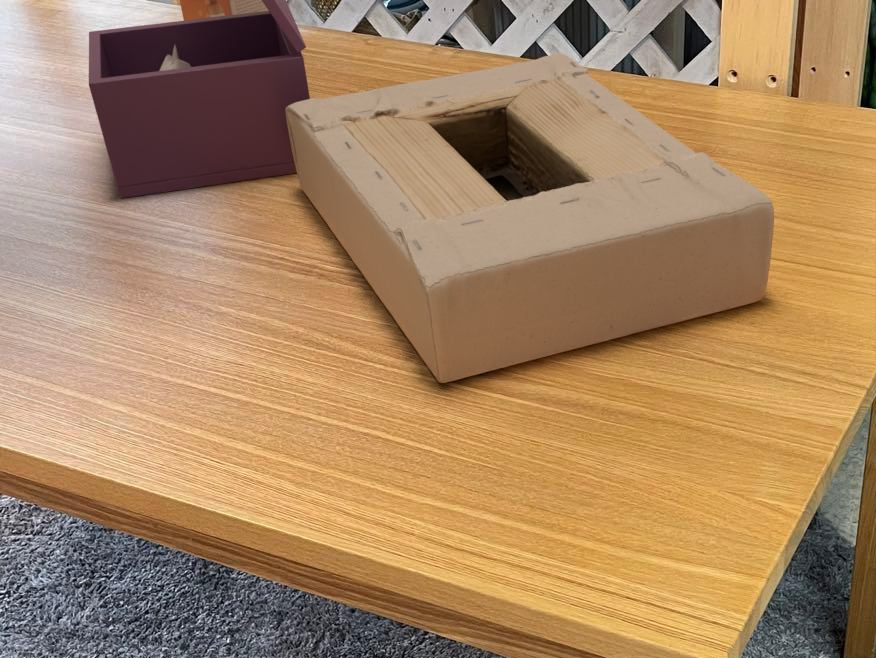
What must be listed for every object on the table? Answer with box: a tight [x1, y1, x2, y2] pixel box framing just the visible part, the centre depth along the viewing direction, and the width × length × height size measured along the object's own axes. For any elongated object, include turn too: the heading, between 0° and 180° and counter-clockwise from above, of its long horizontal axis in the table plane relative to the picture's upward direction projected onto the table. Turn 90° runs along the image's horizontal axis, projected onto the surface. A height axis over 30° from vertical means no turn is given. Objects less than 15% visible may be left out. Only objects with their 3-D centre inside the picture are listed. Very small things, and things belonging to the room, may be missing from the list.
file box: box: [88, 11, 311, 199], centre depth 95 cm, size 16×13×9 cm
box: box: [285, 52, 775, 384], centre depth 82 cm, size 23×8×32 cm
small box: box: [179, 0, 269, 21], centre depth 111 cm, size 8×6×10 cm
